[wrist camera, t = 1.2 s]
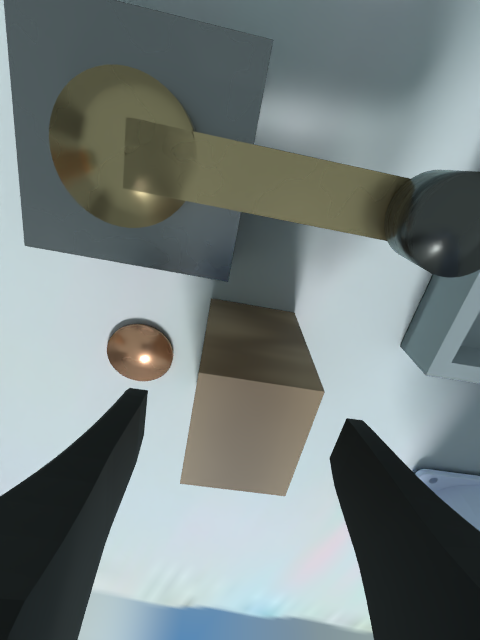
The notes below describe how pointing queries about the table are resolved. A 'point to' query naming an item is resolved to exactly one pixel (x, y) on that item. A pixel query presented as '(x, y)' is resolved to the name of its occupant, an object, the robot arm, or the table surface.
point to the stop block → (251, 401)
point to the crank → (244, 175)
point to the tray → (447, 329)
